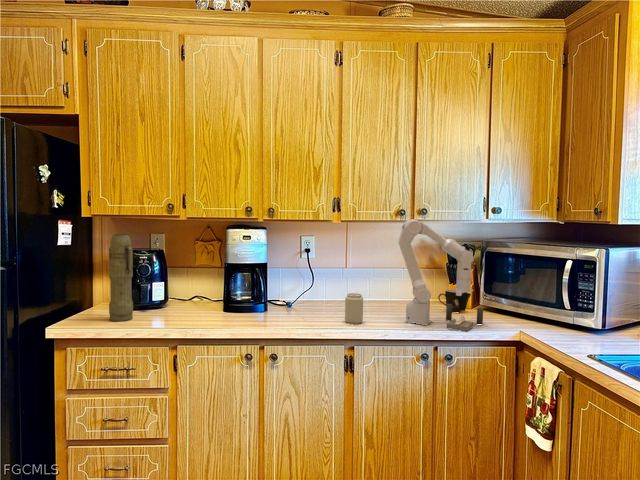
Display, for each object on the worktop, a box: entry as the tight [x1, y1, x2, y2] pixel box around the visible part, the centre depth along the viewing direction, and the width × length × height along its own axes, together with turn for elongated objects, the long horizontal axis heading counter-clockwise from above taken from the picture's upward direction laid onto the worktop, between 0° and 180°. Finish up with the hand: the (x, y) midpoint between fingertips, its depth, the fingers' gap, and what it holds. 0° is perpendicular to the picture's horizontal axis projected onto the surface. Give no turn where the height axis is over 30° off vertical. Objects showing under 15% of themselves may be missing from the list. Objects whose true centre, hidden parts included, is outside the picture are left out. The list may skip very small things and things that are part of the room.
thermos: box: [108, 233, 134, 323], centre depth 180 cm, size 9×12×35 cm
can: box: [344, 292, 364, 325], centre depth 184 cm, size 8×8×12 cm
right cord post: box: [476, 307, 484, 325], centre depth 185 cm, size 2×2×7 cm
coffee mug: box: [438, 288, 462, 312], centre depth 209 cm, size 12×9×10 cm
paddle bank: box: [455, 315, 466, 325], centre depth 179 cm, size 2×9×2 cm, turn 147°
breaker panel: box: [446, 318, 474, 333], centre depth 180 cm, size 8×10×2 cm
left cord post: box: [445, 304, 453, 321], centre depth 192 cm, size 2×2×7 cm
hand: (462, 310), depth 185 cm, fingers closed
